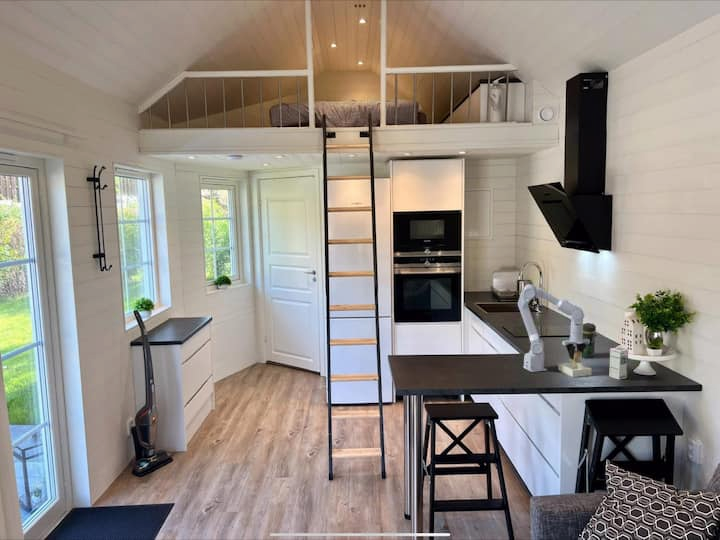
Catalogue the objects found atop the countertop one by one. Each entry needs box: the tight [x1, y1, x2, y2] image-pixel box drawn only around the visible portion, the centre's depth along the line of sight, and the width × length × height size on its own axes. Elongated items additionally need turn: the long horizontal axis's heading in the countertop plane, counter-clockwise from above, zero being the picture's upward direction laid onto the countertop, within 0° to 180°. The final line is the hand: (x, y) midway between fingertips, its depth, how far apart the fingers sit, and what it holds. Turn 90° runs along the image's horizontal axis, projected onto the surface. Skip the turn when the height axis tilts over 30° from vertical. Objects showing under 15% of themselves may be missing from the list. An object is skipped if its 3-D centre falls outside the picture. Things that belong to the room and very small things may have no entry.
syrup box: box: [608, 346, 629, 380], centre depth 246 cm, size 6×6×14 cm
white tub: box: [557, 361, 593, 378], centre depth 253 cm, size 11×11×4 cm
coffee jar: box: [582, 322, 597, 359], centre depth 280 cm, size 10×8×19 cm
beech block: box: [568, 349, 583, 363], centre depth 252 cm, size 4×4×5 cm
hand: (575, 357), depth 253 cm, fingers closed on beech block, 4 cm apart
